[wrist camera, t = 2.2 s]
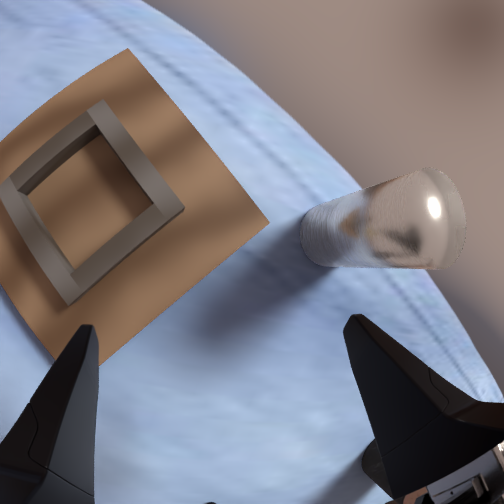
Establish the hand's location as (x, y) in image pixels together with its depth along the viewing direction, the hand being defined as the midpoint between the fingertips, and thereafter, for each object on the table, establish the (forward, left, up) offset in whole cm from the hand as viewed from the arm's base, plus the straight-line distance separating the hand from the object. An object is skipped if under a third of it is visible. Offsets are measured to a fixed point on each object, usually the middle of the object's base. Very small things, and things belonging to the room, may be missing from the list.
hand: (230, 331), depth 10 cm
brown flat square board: (+10, +2, -15) cm, 18 cm away
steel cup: (-4, -12, -15) cm, 19 cm away
